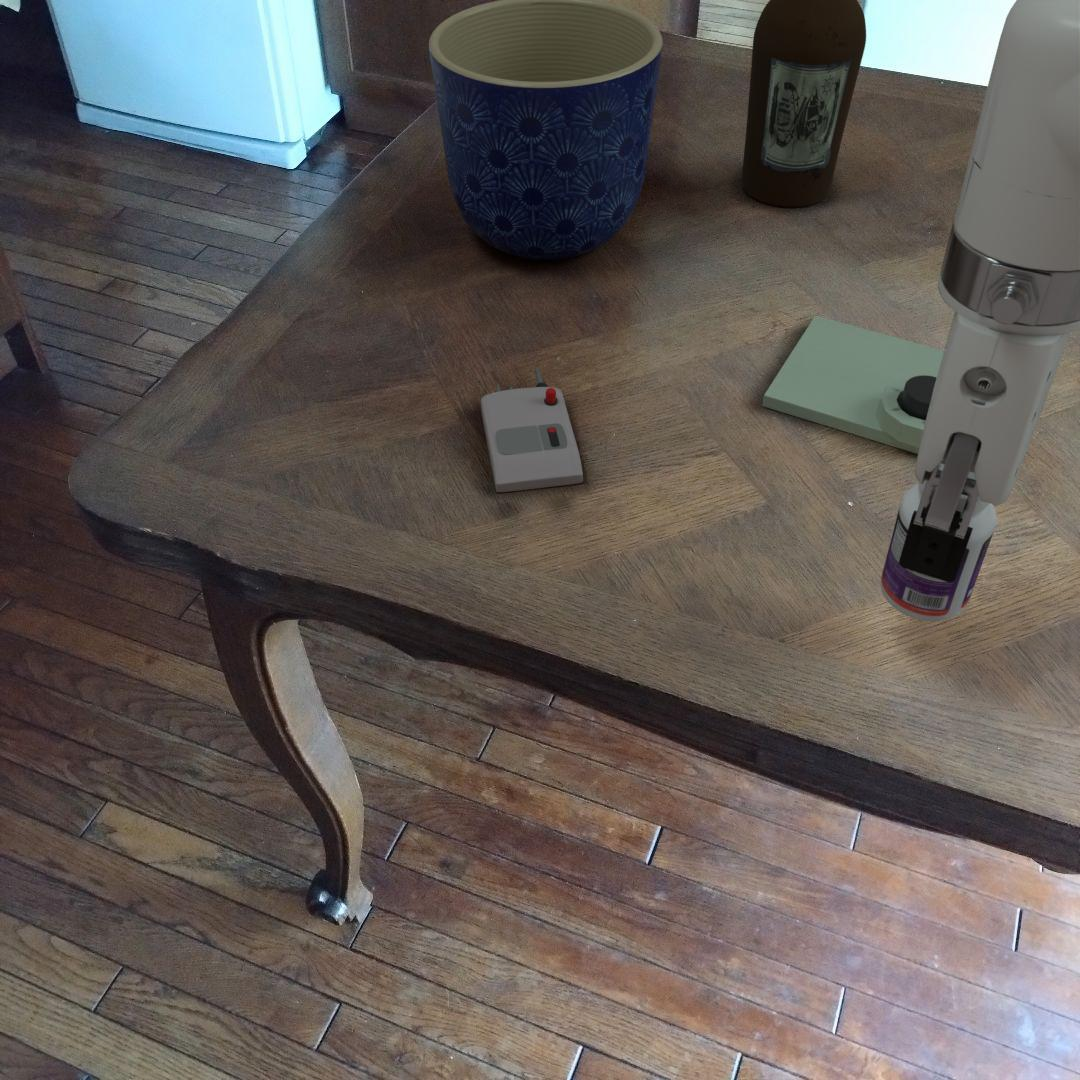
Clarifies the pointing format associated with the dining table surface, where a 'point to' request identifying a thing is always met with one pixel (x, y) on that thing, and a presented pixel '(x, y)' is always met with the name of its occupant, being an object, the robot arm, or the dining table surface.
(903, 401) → the tare button
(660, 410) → the dining table surface
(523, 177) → the planter
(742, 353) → the dining table surface
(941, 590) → the pill bottle
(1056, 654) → the dining table surface
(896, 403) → the green dial board
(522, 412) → the remote control
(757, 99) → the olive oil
